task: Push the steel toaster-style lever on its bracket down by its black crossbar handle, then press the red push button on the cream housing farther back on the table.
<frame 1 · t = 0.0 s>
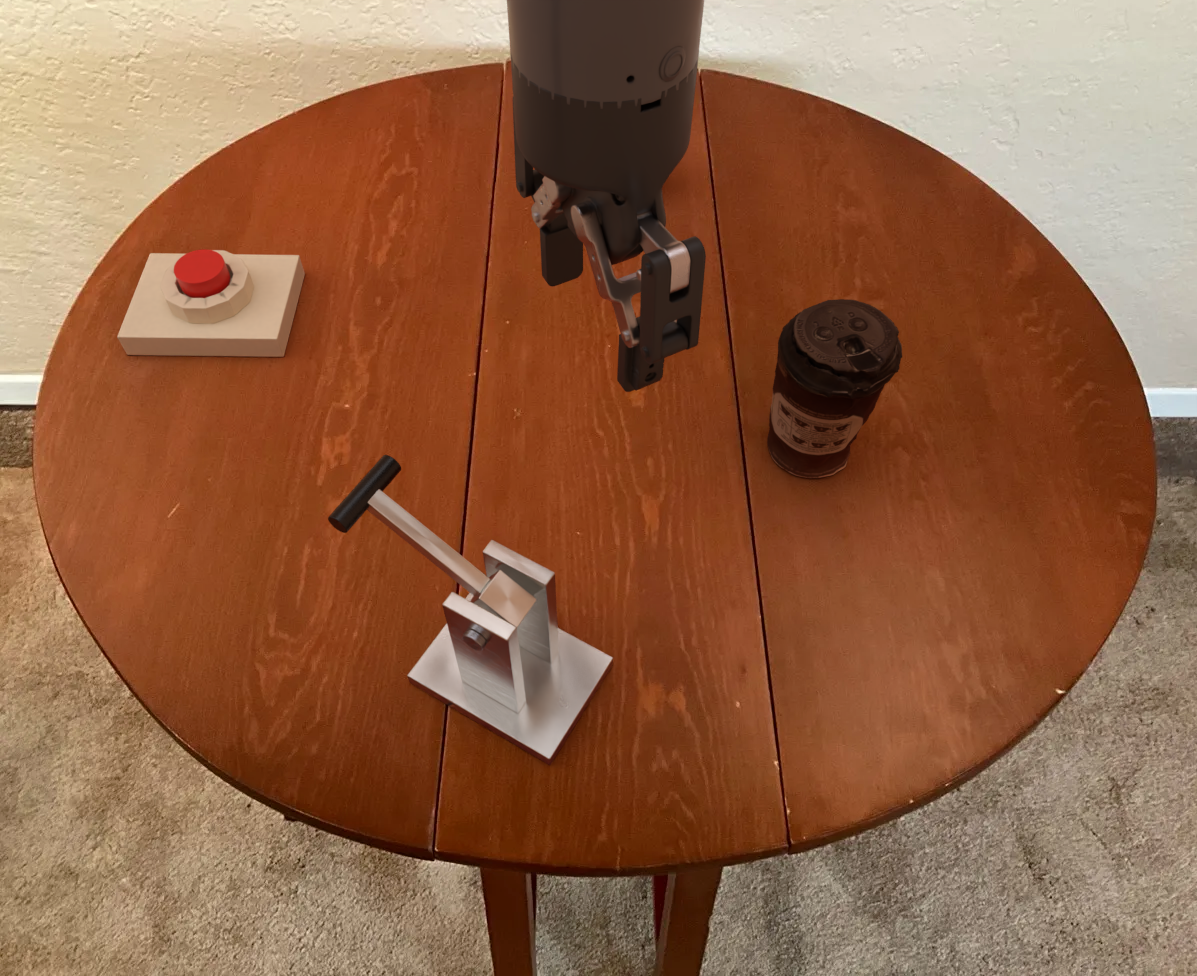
hand: (599, 328, 51), 23 cm above the table, tool pointing down, fingers open, 8 cm apart
bracket: (512, 673, 64), on the table
button box: (219, 313, 83), on the table
crystal: (613, 185, 94), on the table
coffee cup: (807, 451, 75), on the table
button: (202, 273, 79), point 4 cm above the table, slide at 0.1 cm
lever: (439, 552, 55), point 12 cm above the table, hinge at 28.0°
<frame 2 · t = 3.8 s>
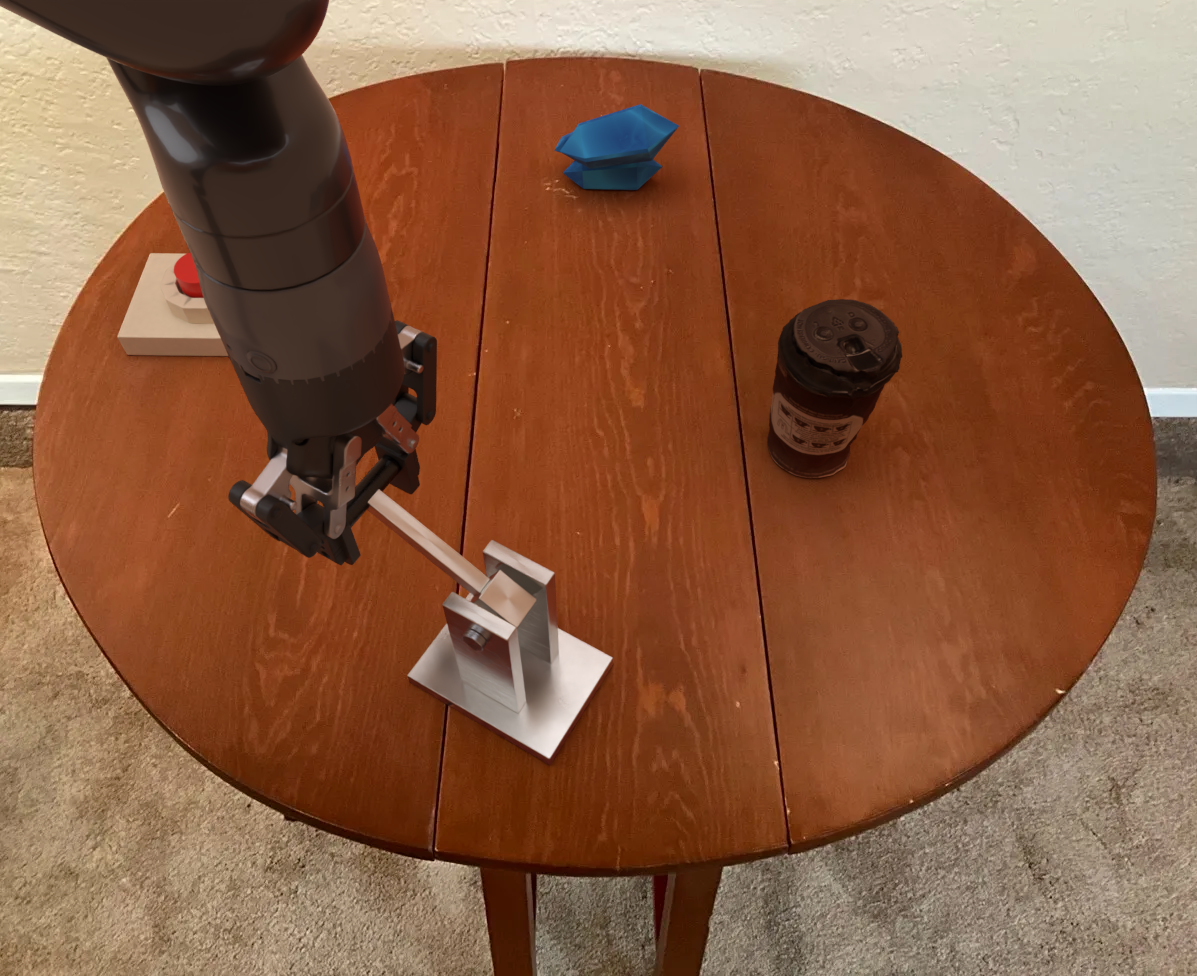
hand: (373, 518, 57), 12 cm above the table, tool pointing down, fingers closed on lever, 5 cm apart
lever: (439, 552, 55), point 12 cm above the table, hinge at 27.9°, touching gripper
everything else where it was.
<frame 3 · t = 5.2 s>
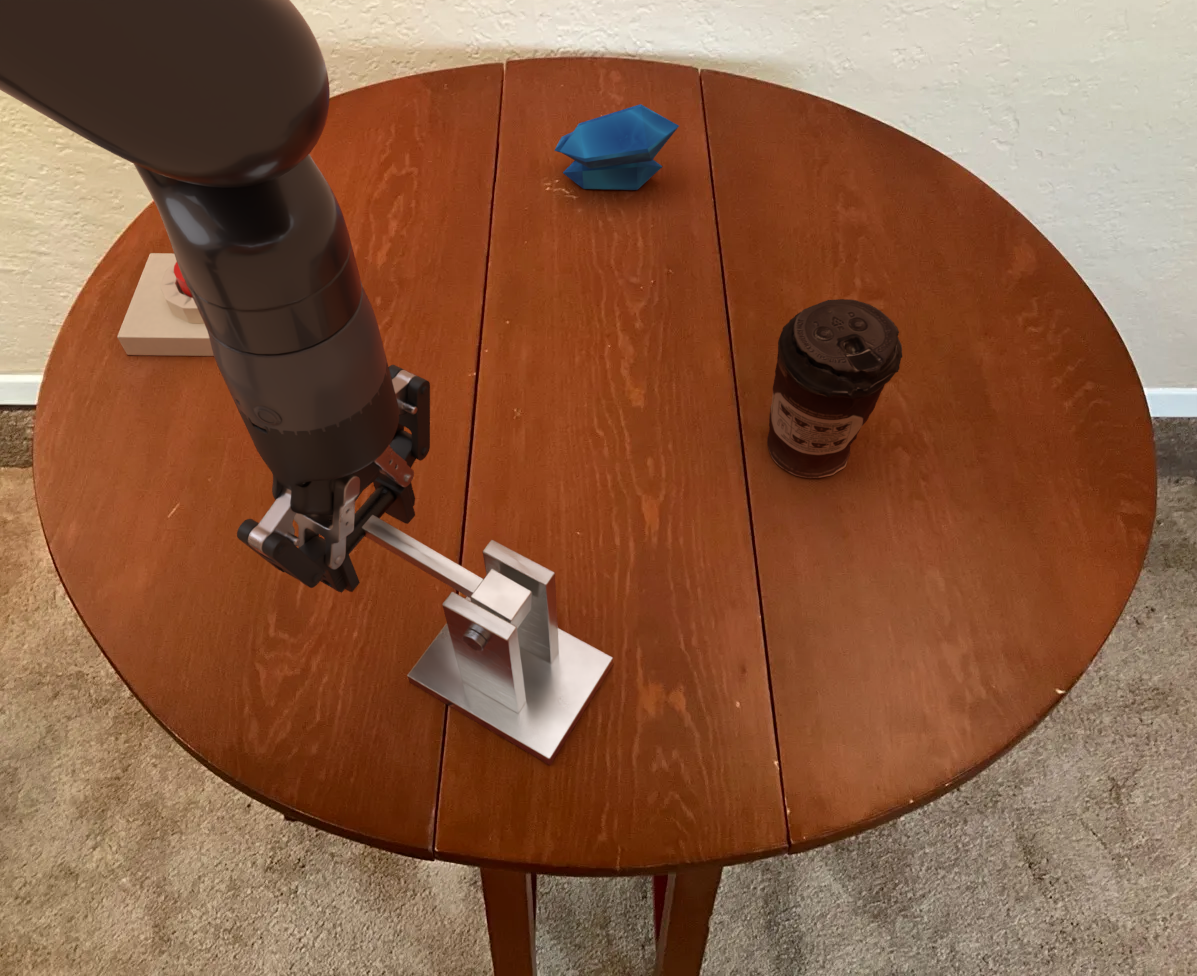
hand: (371, 547, 61), 8 cm above the table, tool pointing down, fingers closed on lever, 5 cm apart
lever: (435, 564, 57), point 10 cm above the table, hinge at 4.6°, touching gripper
everything else where it was.
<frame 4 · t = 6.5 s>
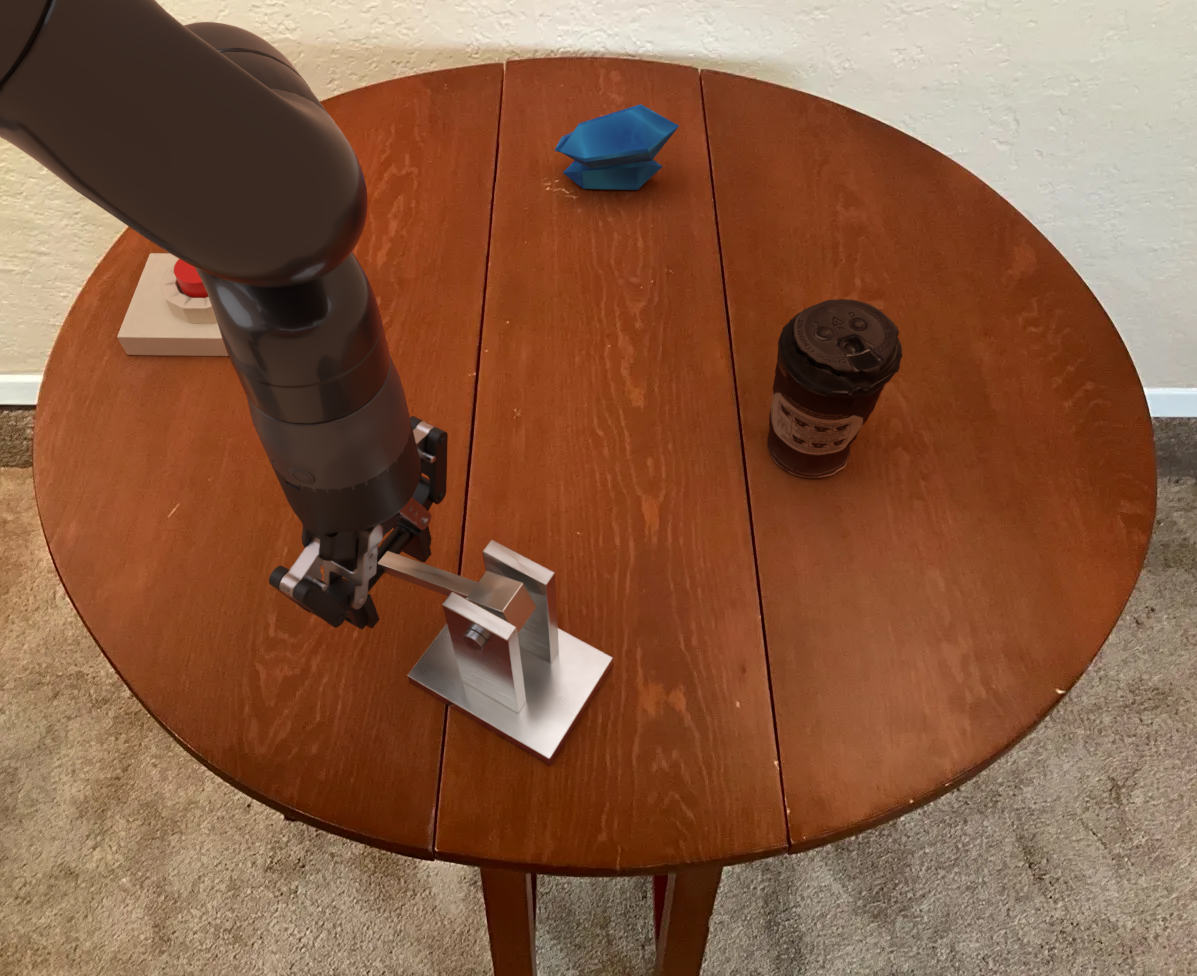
hand: (390, 585, 64), 4 cm above the table, tool pointing down, fingers closed on lever, 5 cm apart
lever: (443, 582, 59), point 8 cm above the table, hinge at -19.3°, touching gripper
everything else where it was.
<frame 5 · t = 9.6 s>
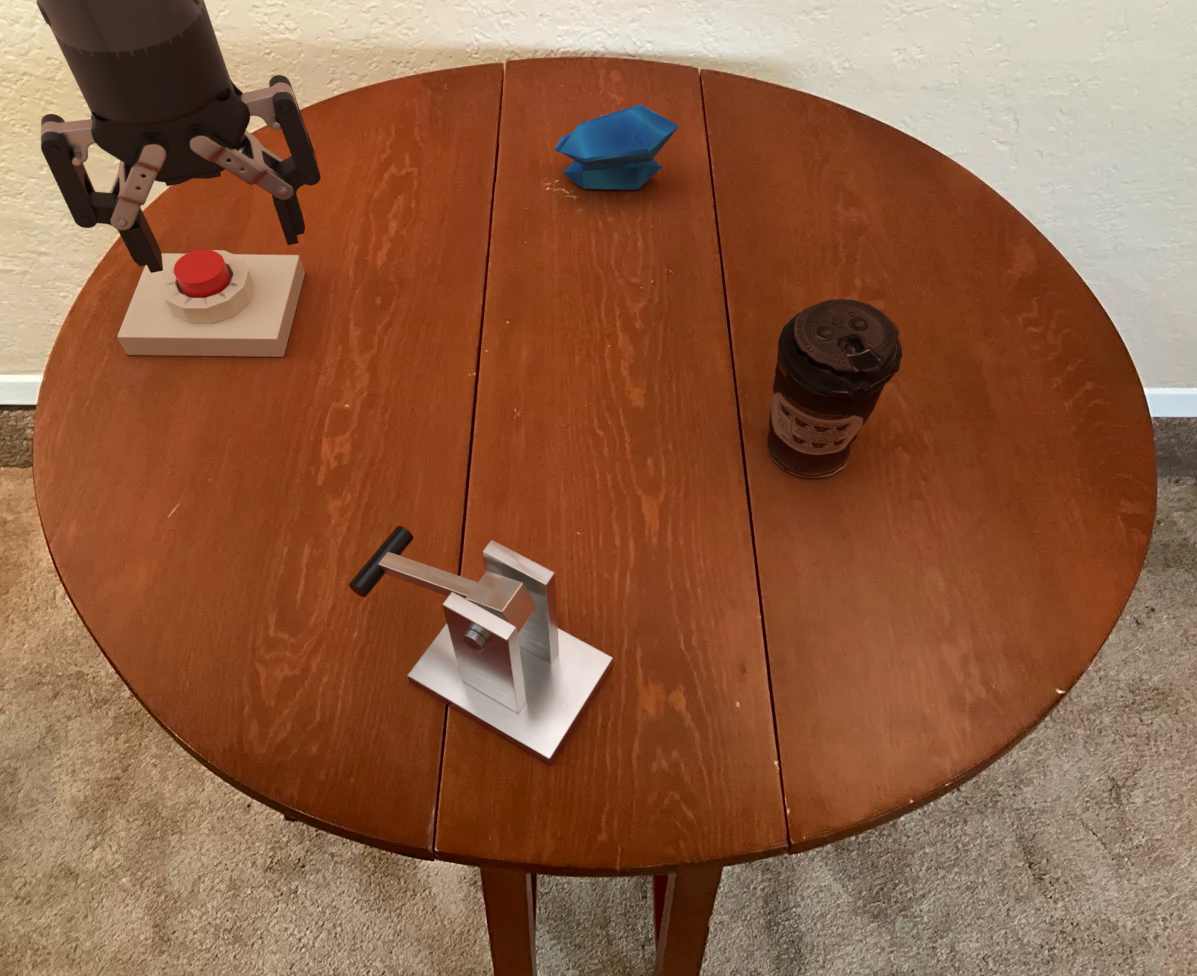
hand: (224, 249, 62), 17 cm above the table, tool pointing down, fingers open, 8 cm apart
lever: (443, 582, 59), point 8 cm above the table, hinge at -19.7°
everything else where it was.
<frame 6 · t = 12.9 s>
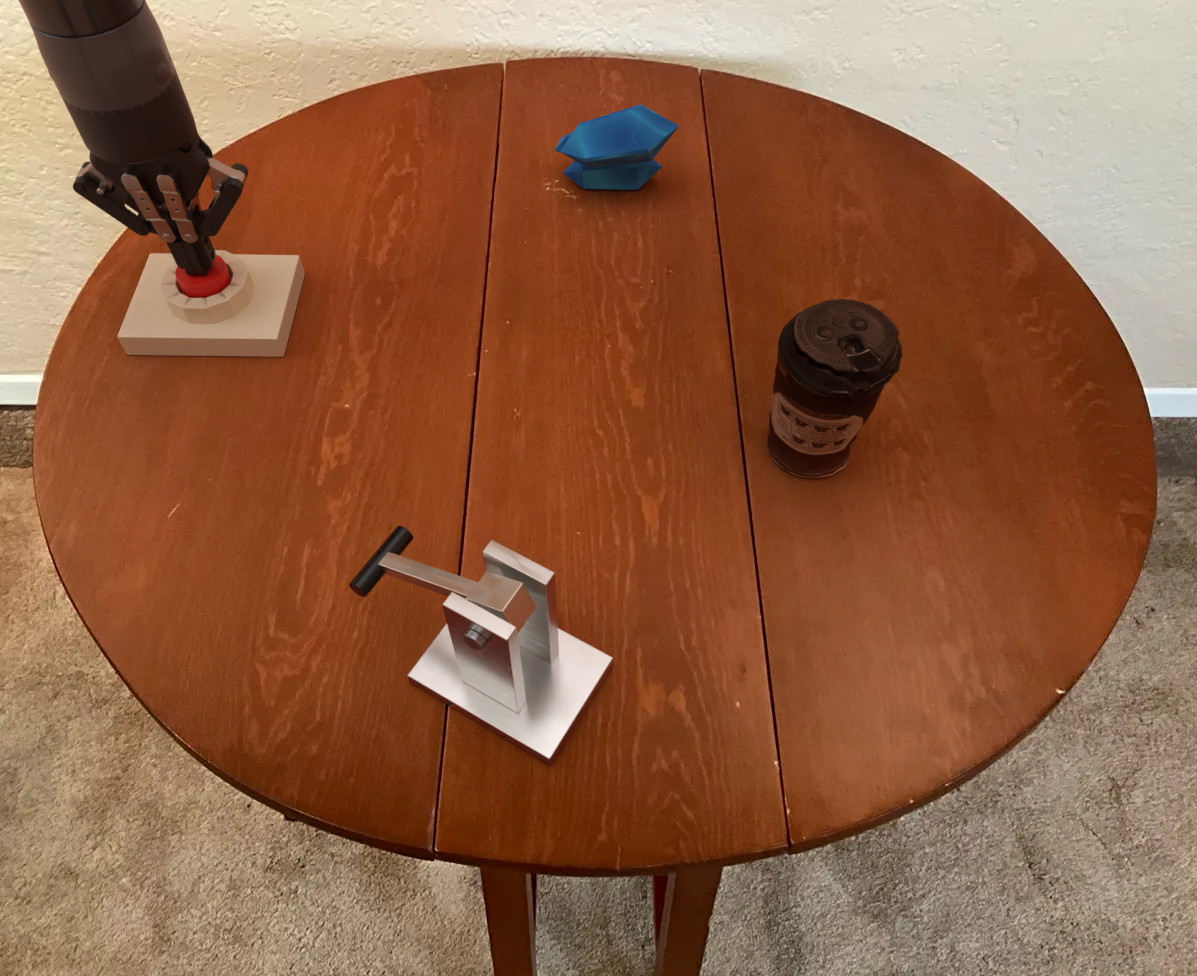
hand: (200, 268, 79), 5 cm above the table, tool pointing down, fingers closed
button: (203, 277, 80), point 4 cm above the table, slide at -0.3 cm, touching gripper
everything else where it was.
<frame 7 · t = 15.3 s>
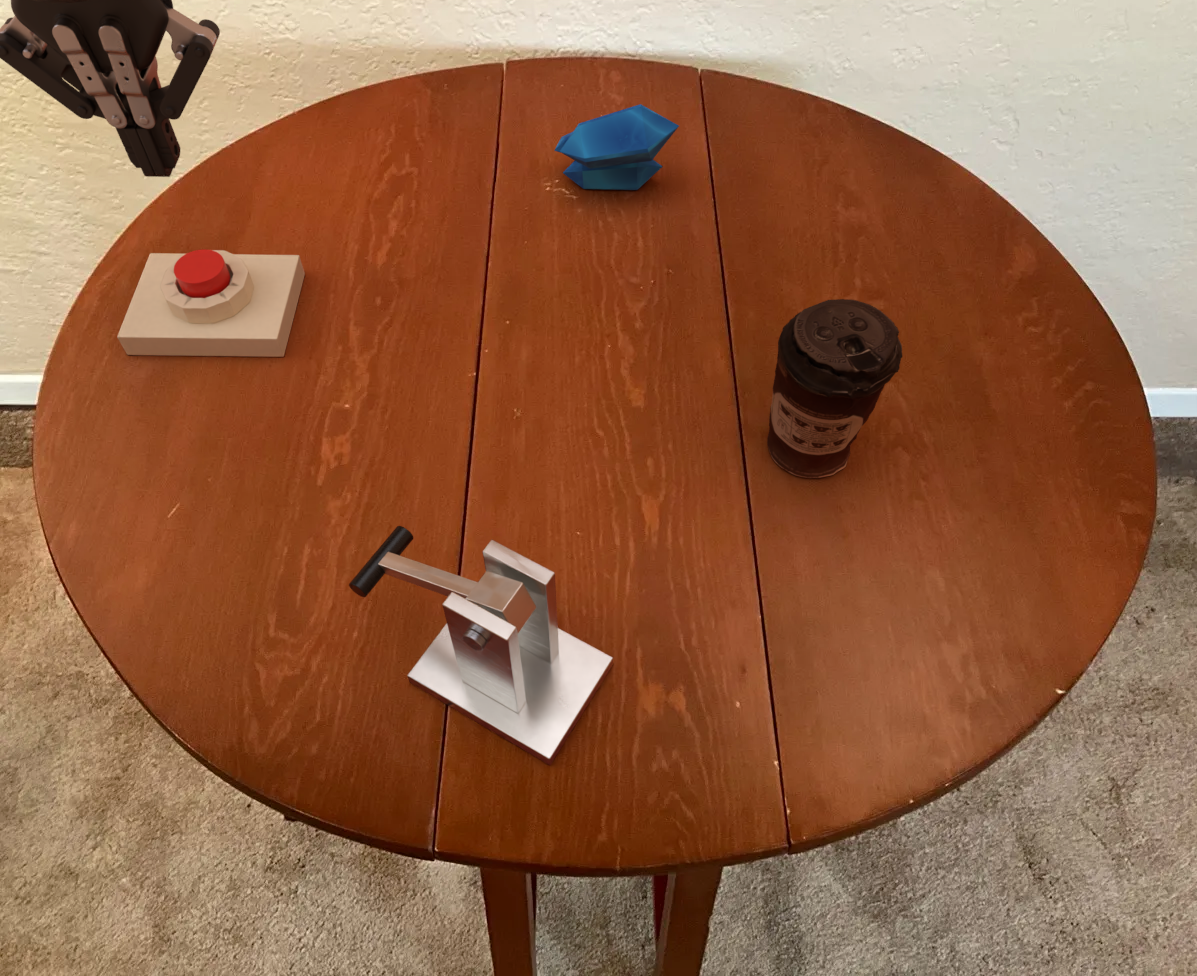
hand: (161, 168, 63), 20 cm above the table, tool pointing down, fingers closed
button: (202, 273, 79), point 4 cm above the table, slide at 0.1 cm
everything else where it was.
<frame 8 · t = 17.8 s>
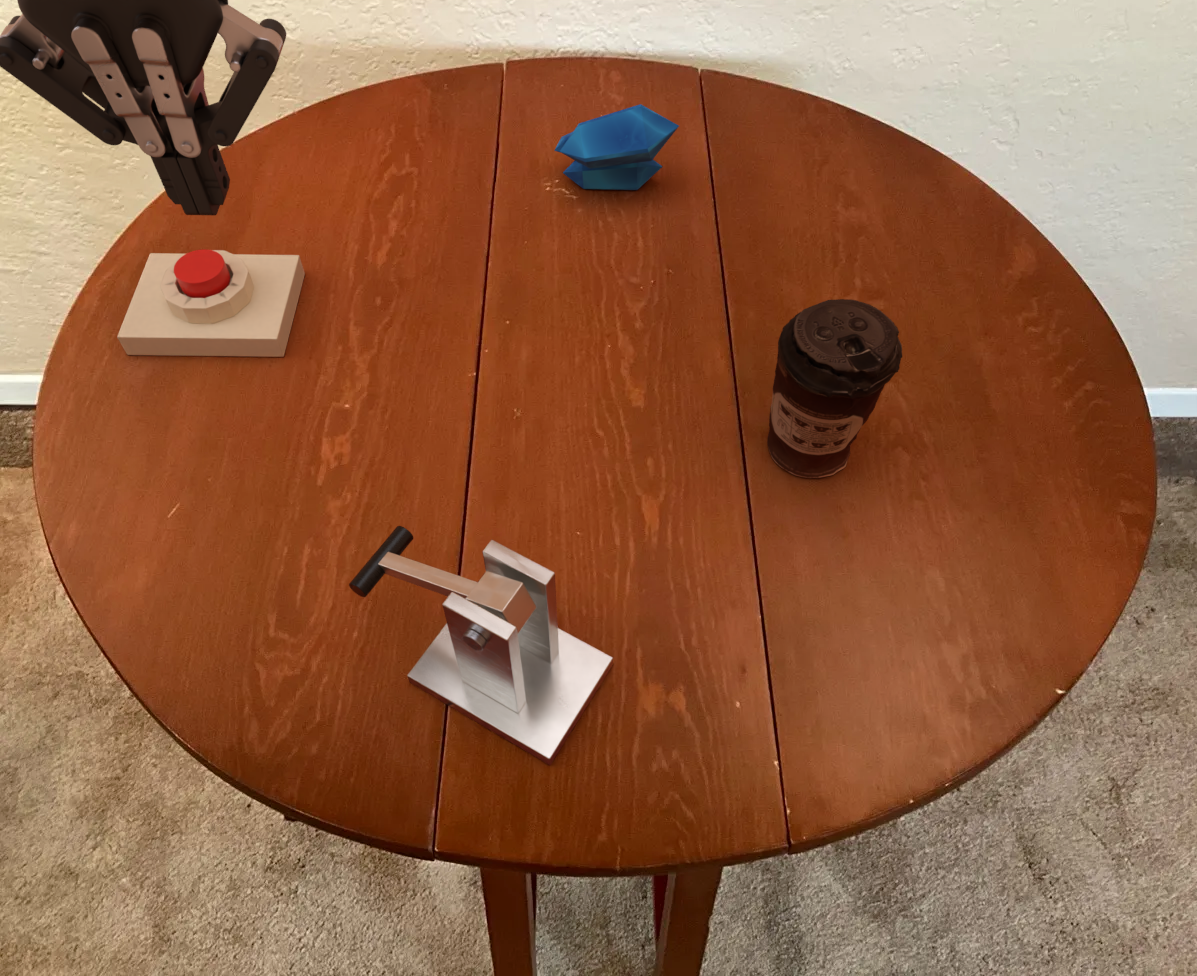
hand: (205, 204, 50), 27 cm above the table, tool pointing down, fingers closed
nothing on the table moved.
at the end: lever at -20° (first picture: +28°); button pushed in 1.0 cm at the most during the clip, back to where it started at the end; button slide at 0.1 cm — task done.
